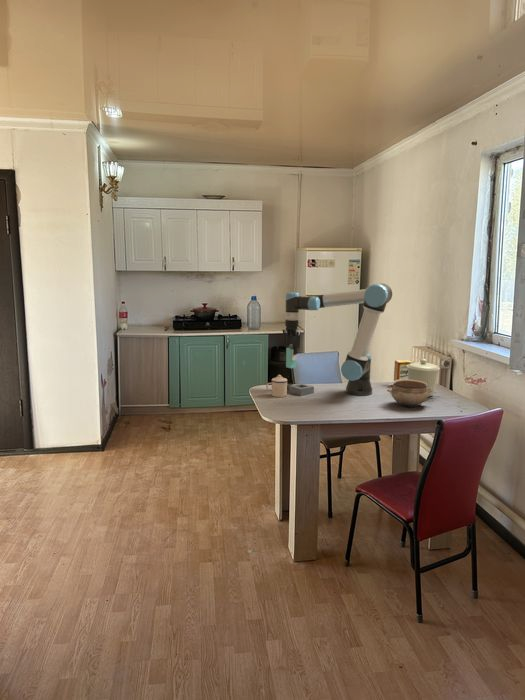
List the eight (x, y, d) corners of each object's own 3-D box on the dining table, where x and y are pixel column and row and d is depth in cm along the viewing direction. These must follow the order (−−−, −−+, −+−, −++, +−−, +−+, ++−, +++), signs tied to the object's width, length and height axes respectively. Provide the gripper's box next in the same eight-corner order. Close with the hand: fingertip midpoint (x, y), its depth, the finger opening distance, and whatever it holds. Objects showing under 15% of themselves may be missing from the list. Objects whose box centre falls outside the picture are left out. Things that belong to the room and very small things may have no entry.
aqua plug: (295, 367, 302) (296, 344, 300) (290, 368, 299) (291, 345, 297) (291, 366, 305) (291, 343, 303) (285, 367, 302) (286, 344, 300)
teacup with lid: (285, 393, 296) (285, 373, 294) (288, 397, 287) (289, 376, 285) (264, 393, 294) (265, 373, 292) (267, 397, 285) (267, 377, 283)
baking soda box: (396, 387, 314) (398, 361, 311) (393, 385, 320) (394, 359, 318) (412, 387, 315) (413, 361, 312) (408, 385, 321) (410, 359, 318)
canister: (443, 395, 297) (446, 359, 293) (426, 400, 285) (429, 363, 281) (416, 389, 310) (418, 354, 306) (398, 394, 298) (400, 358, 295)
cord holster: (298, 390, 304) (298, 385, 303) (289, 391, 299) (289, 387, 299) (290, 387, 309) (290, 383, 309) (281, 389, 305) (281, 385, 304)
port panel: (313, 393, 296) (313, 386, 296) (301, 396, 290) (301, 389, 290) (301, 389, 304) (301, 383, 303) (288, 392, 298) (289, 385, 297)
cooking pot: (393, 411, 264) (394, 387, 262) (379, 401, 282) (381, 379, 280) (439, 409, 267) (441, 386, 265) (422, 400, 286) (424, 378, 284)
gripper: (277, 318, 301) (276, 358, 305) (297, 321, 289) (296, 362, 292) (286, 317, 306) (285, 356, 310) (307, 320, 293) (305, 361, 297)
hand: (291, 359), depth 301 cm, fingers closed on aqua plug, 4 cm apart
